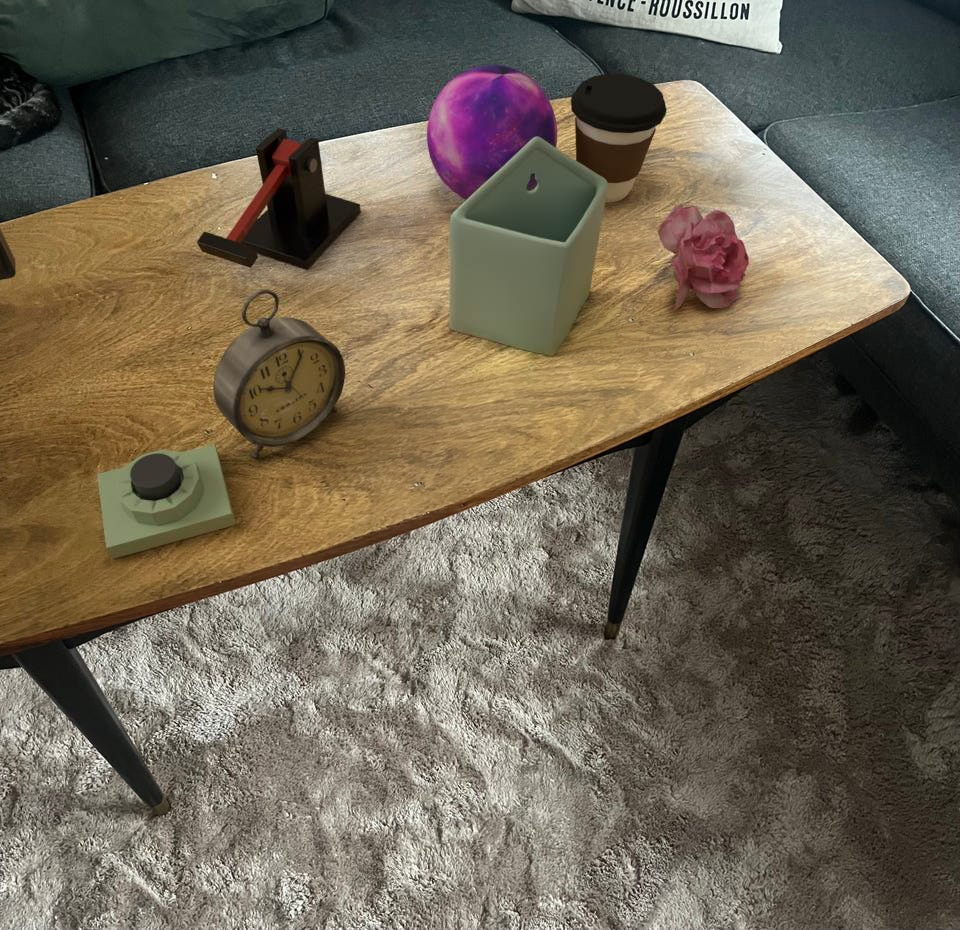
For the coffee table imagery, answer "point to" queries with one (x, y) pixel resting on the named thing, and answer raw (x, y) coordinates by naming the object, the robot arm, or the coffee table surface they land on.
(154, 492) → the call button
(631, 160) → the coffee cup
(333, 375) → the alarm clock
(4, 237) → the robot arm
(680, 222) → the flower
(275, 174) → the red lever
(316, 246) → the lever stand
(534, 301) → the planter
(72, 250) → the coffee table surface
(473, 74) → the decorative orb
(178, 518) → the call button base
